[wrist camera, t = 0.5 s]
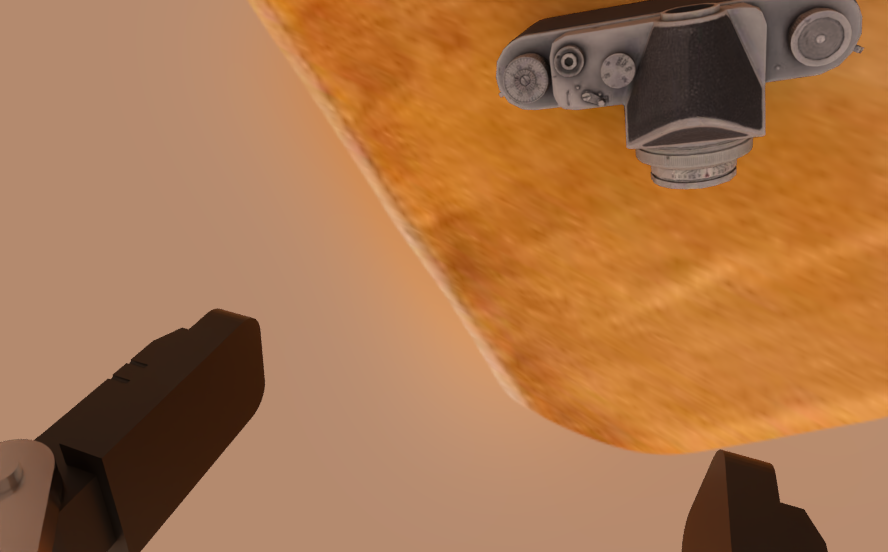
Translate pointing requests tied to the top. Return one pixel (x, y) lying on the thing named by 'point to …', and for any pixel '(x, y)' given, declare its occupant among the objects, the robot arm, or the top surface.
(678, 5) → the camera
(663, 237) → the top surface
